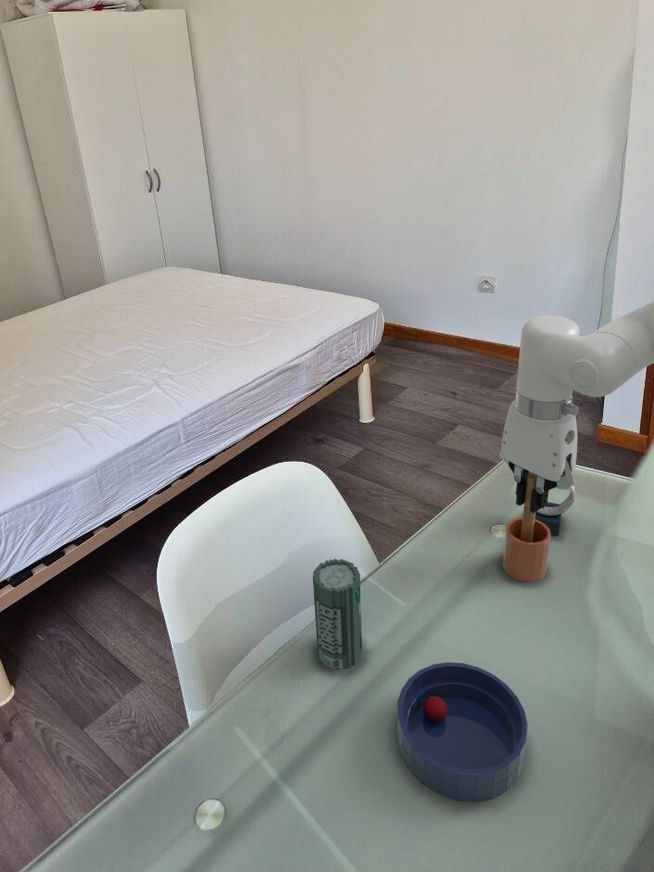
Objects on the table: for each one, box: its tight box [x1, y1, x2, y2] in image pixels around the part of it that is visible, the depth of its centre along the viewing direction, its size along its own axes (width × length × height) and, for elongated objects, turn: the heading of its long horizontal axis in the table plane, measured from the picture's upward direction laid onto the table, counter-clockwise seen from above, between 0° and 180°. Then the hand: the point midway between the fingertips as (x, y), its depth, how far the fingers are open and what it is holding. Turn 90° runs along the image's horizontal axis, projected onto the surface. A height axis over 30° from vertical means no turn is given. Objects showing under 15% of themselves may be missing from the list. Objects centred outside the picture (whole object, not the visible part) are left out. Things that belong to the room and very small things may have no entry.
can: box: [312, 558, 363, 671], centre depth 96 cm, size 6×6×15 cm
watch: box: [535, 484, 576, 537], centre depth 119 cm, size 6×8×11 cm
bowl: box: [396, 661, 529, 803], centre depth 85 cm, size 15×15×6 cm
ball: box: [423, 696, 447, 722], centre depth 88 cm, size 3×3×3 cm
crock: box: [502, 517, 552, 583], centre depth 110 cm, size 7×7×8 cm
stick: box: [520, 472, 537, 543], centre depth 108 cm, size 2×2×18 cm
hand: (530, 504), depth 106 cm, fingers closed on stick, 1 cm apart
